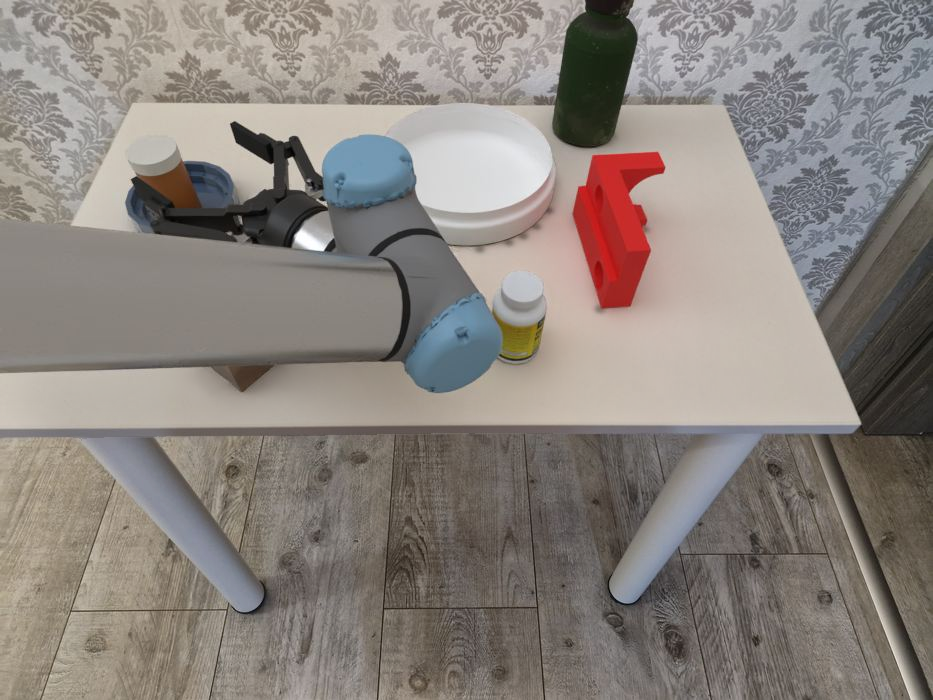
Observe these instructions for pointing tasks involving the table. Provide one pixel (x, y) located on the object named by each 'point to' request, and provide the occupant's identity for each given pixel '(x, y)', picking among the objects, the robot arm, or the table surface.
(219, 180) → the bowl
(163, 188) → the vitamin bottle
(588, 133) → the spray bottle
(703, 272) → the table surface
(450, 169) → the round white tray
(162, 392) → the table surface
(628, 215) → the bracket
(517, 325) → the pill bottle
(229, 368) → the riser
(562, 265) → the table surface
